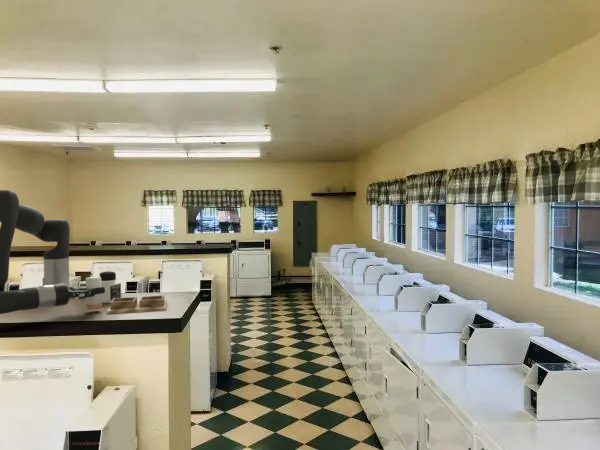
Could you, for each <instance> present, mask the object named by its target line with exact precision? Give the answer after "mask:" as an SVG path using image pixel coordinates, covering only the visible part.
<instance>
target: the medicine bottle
mask: <svg viewBox="0 0 600 450" xmlns="http://www.w3.org/2000/svg"><path fill="white" fill-rule="evenodd" d="M116 276H117V273H116V272H115V271H113V270H112V271H111V270H110V271H108V270H107V271H102V272H100V273H99V277H101V287H104V288H105V293H102V294H101V297H102V304H110V302H111V301H112V299H113V298H122V285H121V282H116V281H117V277H116Z"/></svg>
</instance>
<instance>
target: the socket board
mask: <svg viewBox="0 0 600 450" xmlns="http://www.w3.org/2000/svg"><path fill="white" fill-rule="evenodd" d="M167 302H168V300H165V295H163V294H162V295H147V296H141V297H140V299H139V301H138V297H137V296H132V297H131V296H129V297H121V298H113V299H112V301H111V302H110V303H109V305H110V306H109V308H107V310H106V314H107V315H110V314H126V313H141V312H142V313H143V312H159V311H166V310H167V305H168V304H167Z"/></svg>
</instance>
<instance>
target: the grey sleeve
mask: <svg viewBox="0 0 600 450" xmlns="http://www.w3.org/2000/svg"><path fill="white" fill-rule="evenodd" d="M85 286H86V288H99V287H101V277H100V276H89V277H86V278H85ZM89 294H91V291H90V292H89ZM85 299H86V303H85V310H87V311H88V310H89V311H90V310H91V311H92V310H94V311H96V310H99V309H102V308H103V303H102V297H101V294H95V296H94V297H87V298H85Z"/></svg>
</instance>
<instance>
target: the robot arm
mask: <svg viewBox="0 0 600 450" xmlns="http://www.w3.org/2000/svg"><path fill="white" fill-rule="evenodd" d="M0 223H1V224H0V315H3V314H9V313H13V312H18V311H28V310H34V309H45V308H46V309H47V308H54V307H60V306H66V305H67V304H68V303H69V300H70V299H72V300H77V299H80V300H82V299H86V298H87V297H94V296H95V294H102V293H105V288H104V287H99V288H86V285H75V286H71V285H70V284H71V283H70V258H69V257H70V255H69V254H70V235H71V234H70V231H71V230H70V224H69V222H68V220H66V219H45V217H44V214H43V213H42V212H41V211H40V210H38V209H36V208H34V207H32V206H30V205H27V204H23V203H22V204H21V203H20V199H19V197H18V195H17V193H16V192H15V191H13V190H8V189H6V190H5V189H4V190H3V189H2V190H1V189H0ZM16 230H18V231H21V232H23V233H26V234H30V235H32V236H34V237H36V238H37V239H39V240H40V241H43V242H45V243H56V246H55V247H53V248H51V249H49V250H46V251H44V252H43V256H42V257H43V278H42V285H39V286H33V287H26V288H21V289H15V290H5V287H6V283H7V282H8V280H9V273H10V255H11V250H12V249H11V248H12V243H13V239H14V236H15V231H16ZM90 291H91V294H89V292H90Z"/></svg>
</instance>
